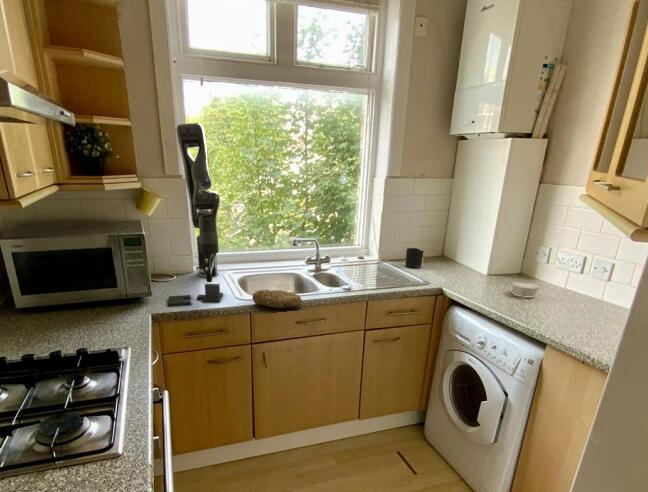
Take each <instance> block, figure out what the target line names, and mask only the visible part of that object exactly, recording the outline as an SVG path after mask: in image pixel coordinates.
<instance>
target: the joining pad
mask: <svg viewBox="0 0 648 492" xmlns="http://www.w3.org/2000/svg"><path fill="white" fill-rule="evenodd" d="M220 284H221V283H204V293H205V294H198V295H197V297H196V300H197V301H202V303H216V304H217V303H220V302H221V300H222V298H223V296H224V293H223V292H221V286H220Z"/></svg>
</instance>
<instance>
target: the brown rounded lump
mask: <svg viewBox="0 0 648 492" xmlns="http://www.w3.org/2000/svg"><path fill="white" fill-rule="evenodd" d="M251 297H252V300H253V302H254V304H257V305H260V306H263V307H264V306H265V307H269V308H273V309H293V308H297V307H300V306H302V305H303V299H302V297H301V296H300V295H299V294H296V293H294V292H289V291H285V290H281V289H280V290H279V289H275V290H269V289H257V290H255V292H253V293H252V296H251Z"/></svg>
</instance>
